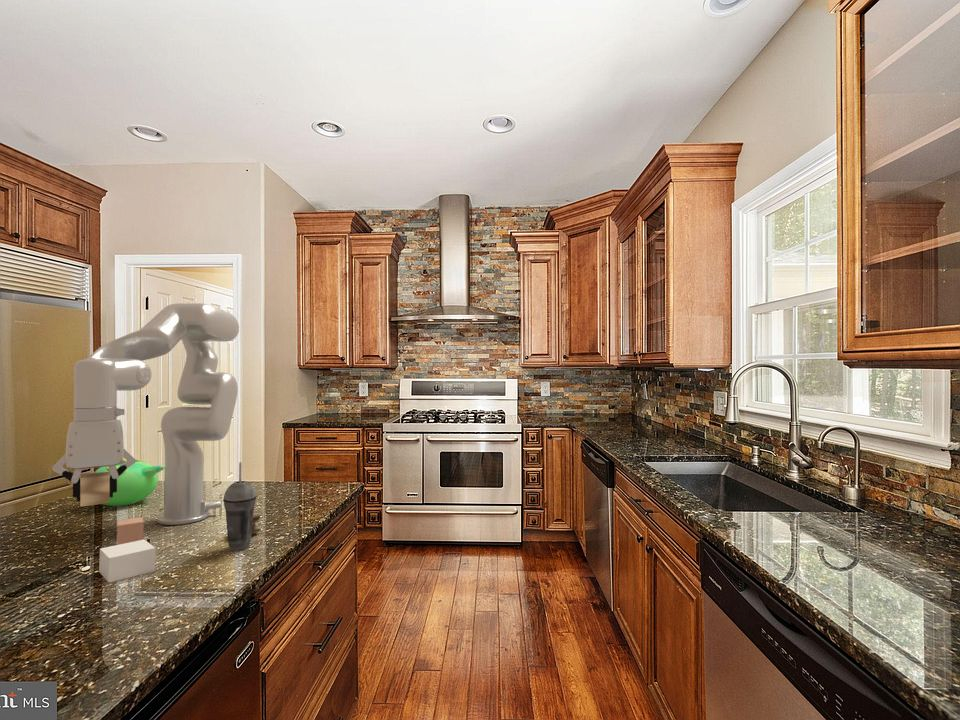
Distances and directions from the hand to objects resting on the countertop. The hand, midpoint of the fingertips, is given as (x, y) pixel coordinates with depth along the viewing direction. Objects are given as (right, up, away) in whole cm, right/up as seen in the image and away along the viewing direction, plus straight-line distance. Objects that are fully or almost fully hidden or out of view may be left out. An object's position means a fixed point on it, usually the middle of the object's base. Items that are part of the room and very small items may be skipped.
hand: (95, 497), depth 111 cm
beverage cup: (+27, -15, +9) cm, 32 cm away
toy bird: (-26, -15, +47) cm, 56 cm away
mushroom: (+24, -15, +18) cm, 34 cm away
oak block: (0, -1, 0) cm, 1 cm away
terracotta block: (+1, -14, +10) cm, 17 cm away
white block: (+11, -14, -5) cm, 19 cm away
